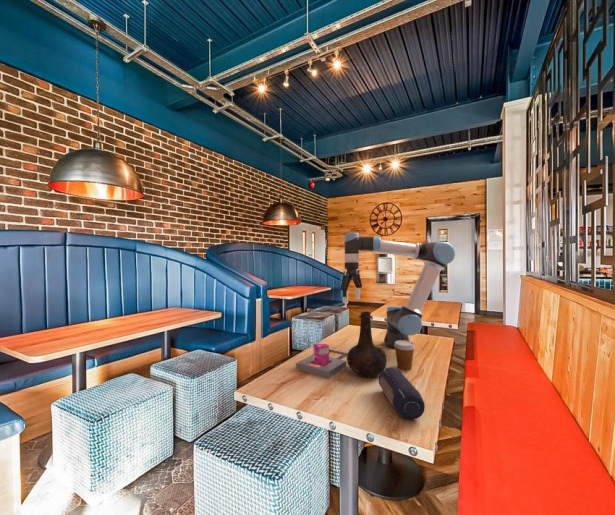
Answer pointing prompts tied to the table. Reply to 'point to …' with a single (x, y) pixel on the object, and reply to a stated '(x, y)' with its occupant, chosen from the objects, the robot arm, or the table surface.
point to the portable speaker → (401, 394)
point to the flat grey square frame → (340, 353)
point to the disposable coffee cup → (404, 354)
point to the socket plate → (321, 367)
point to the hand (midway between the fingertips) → (351, 301)
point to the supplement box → (321, 354)
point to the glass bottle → (366, 352)
